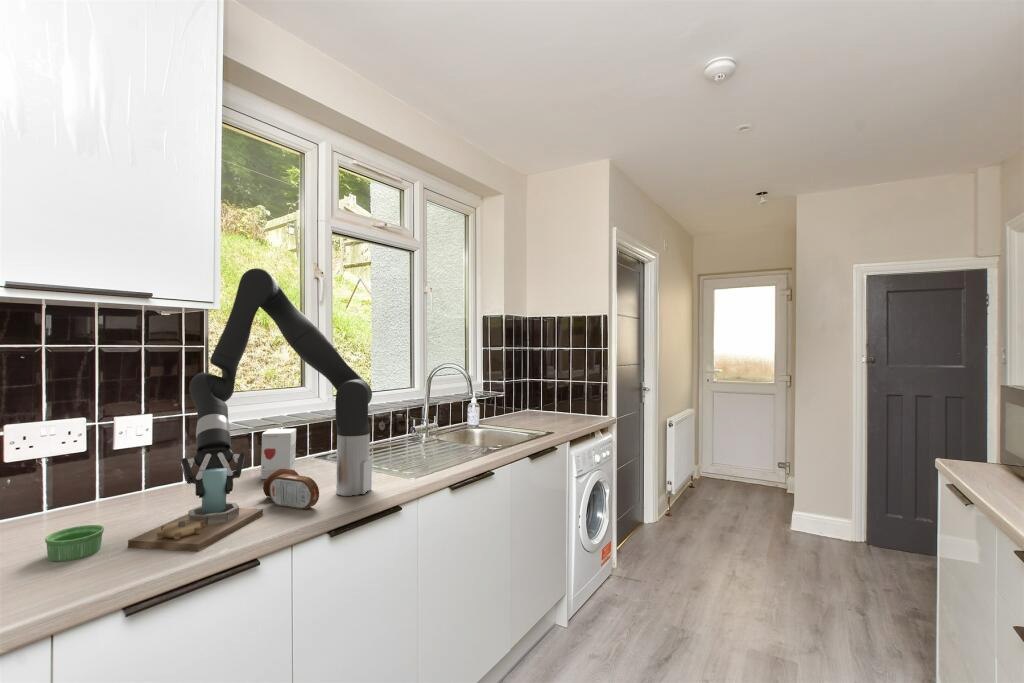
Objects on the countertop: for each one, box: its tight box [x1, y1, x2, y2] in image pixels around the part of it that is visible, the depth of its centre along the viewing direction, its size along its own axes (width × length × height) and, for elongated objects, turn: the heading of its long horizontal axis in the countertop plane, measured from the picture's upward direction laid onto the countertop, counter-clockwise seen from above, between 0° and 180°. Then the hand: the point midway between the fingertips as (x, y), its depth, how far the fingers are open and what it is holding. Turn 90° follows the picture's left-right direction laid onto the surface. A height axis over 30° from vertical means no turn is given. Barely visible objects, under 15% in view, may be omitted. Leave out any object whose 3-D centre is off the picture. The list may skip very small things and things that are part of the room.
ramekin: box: [44, 524, 105, 563], centre depth 99 cm, size 9×9×4 cm
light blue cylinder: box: [201, 468, 227, 513], centre depth 116 cm, size 5×5×10 cm
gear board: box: [127, 501, 264, 552], centre depth 112 cm, size 16×22×4 cm
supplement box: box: [260, 428, 297, 480], centre depth 160 cm, size 9×9×15 cm
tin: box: [269, 474, 320, 511], centre depth 129 cm, size 15×3×8 cm, turn 71°
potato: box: [262, 469, 300, 498], centre depth 139 cm, size 8×12×8 cm, turn 156°
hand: (214, 494), depth 115 cm, fingers closed on light blue cylinder, 5 cm apart
